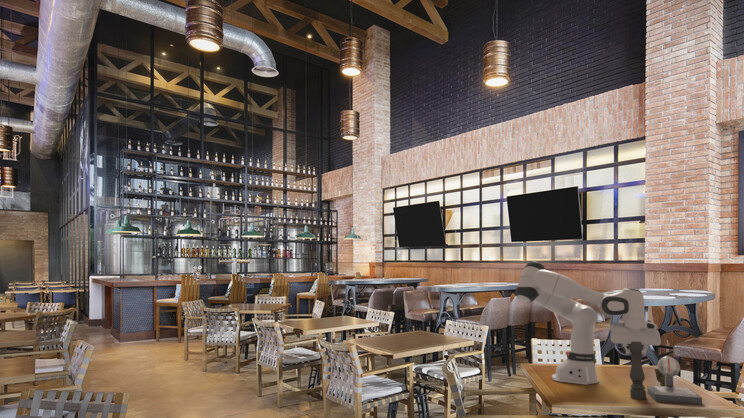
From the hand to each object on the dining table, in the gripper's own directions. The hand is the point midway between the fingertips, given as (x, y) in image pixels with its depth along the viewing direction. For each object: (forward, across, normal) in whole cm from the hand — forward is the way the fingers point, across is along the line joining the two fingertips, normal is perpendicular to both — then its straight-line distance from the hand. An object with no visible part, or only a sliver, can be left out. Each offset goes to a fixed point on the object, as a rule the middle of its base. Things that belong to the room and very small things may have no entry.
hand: (636, 354), depth 221 cm
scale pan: (+16, +15, +1) cm, 22 cm away
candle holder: (+19, 0, 0) cm, 19 cm away
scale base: (+19, +15, +3) cm, 24 cm away
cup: (+19, +17, +26) cm, 37 cm away
